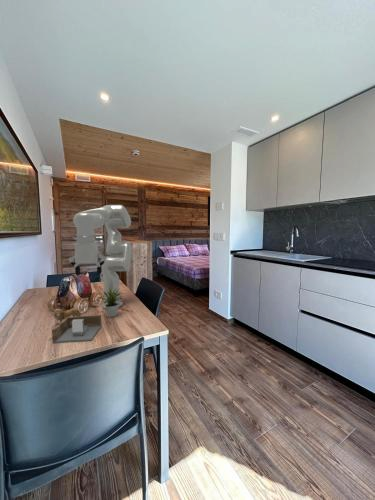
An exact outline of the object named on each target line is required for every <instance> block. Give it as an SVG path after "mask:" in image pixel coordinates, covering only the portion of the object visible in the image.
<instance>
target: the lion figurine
mask: <svg viewBox="0 0 375 500" xmlns="http://www.w3.org/2000/svg"><path fill="white" fill-rule="evenodd" d="M52 315H53V318H54V319H55V320H57V321H59V323H60V322H62V321H63V320H64V319H65V318H66V317H77V316H81V313H80V310H79V309H78V308H77V307H73V308H70V309H68V310H65V309H61V308H56V309H54V310H53V312H52Z"/></svg>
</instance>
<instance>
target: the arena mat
mask: <svg viewBox="0 0 375 500" xmlns="http://www.w3.org/2000/svg"><path fill="white" fill-rule="evenodd" d="M101 328H102V325H101V326H94V327H89V329H88V330H87V332H86V333H85V334H84V336H75V337H73V332H72V328H68V329H67V330H66V331H65V332H64V333H63V334H62V335H61V336H60V337H59V338H58V339H57V340H56V341H53V340H52V344H60V343H61V344H62V343H74V342H75V343H78V342H79V343H80V342H91V341H93V340H94V338H95V337H96V335H97V334H98V332H99V331H100V329H101Z"/></svg>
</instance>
